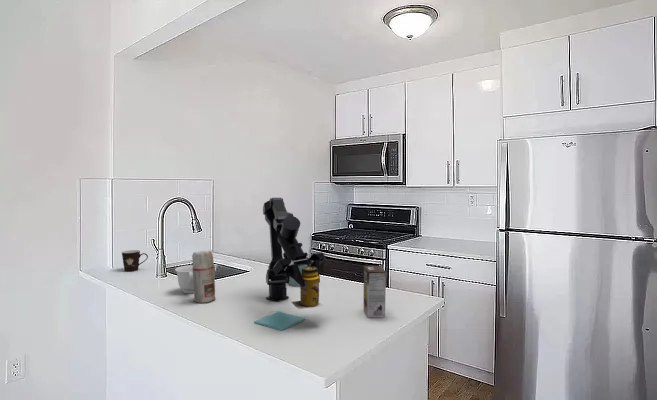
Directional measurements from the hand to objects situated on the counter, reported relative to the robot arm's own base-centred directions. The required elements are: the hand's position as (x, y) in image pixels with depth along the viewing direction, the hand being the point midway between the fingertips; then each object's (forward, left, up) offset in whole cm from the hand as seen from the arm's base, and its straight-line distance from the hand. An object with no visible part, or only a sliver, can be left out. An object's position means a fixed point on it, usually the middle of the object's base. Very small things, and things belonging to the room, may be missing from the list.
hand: (311, 284), depth 128 cm
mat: (-11, -3, -13) cm, 17 cm away
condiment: (-2, 0, -7) cm, 7 cm away
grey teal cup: (-36, +38, -13) cm, 54 cm away
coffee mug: (-124, +11, -13) cm, 125 cm away
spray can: (-51, -2, -13) cm, 52 cm away
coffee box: (+11, +22, -13) cm, 28 cm away
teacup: (-65, +2, -13) cm, 66 cm away
